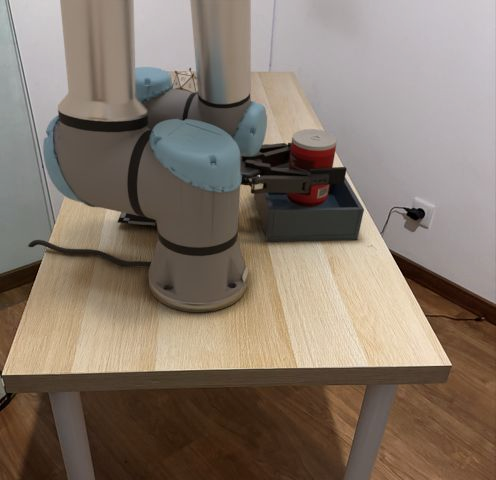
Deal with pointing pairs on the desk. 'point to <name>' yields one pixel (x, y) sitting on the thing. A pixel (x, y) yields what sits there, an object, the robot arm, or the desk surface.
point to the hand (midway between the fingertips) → (335, 164)
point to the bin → (311, 216)
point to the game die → (185, 81)
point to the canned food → (311, 162)
